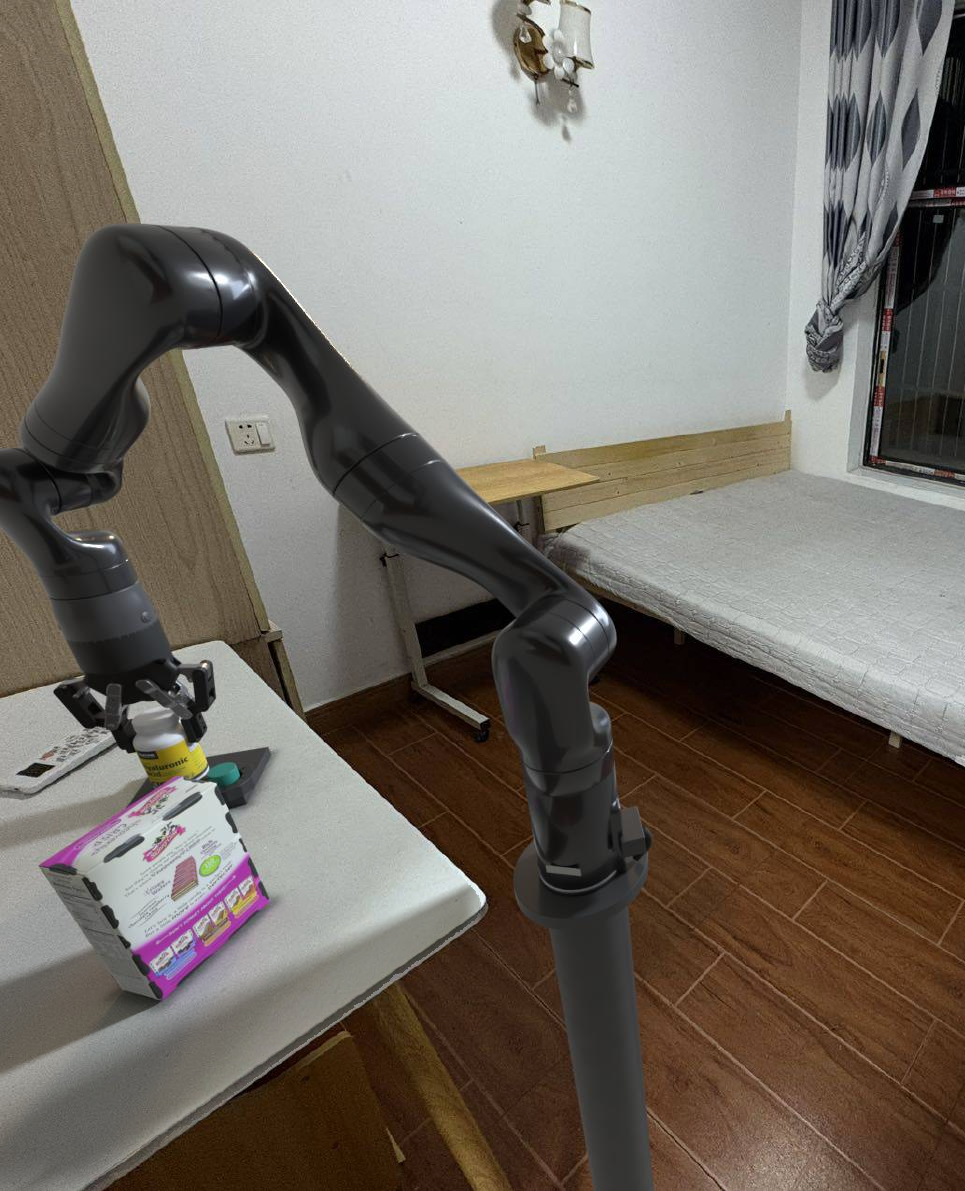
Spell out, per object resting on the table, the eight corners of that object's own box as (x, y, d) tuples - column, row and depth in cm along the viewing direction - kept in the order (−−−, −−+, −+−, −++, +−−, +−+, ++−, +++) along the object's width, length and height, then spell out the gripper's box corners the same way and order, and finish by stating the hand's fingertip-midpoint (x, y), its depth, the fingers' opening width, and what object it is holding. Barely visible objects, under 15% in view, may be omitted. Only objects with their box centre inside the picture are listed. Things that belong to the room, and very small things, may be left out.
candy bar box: (232, 892, 69) (176, 772, 62) (273, 901, 68) (221, 780, 61) (115, 993, 59) (32, 863, 52) (161, 1004, 58) (83, 874, 51)
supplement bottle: (145, 797, 79) (112, 732, 74) (165, 769, 83) (135, 706, 79) (201, 787, 80) (172, 723, 76) (217, 760, 85) (190, 698, 81)
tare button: (243, 771, 82) (239, 760, 81) (235, 785, 79) (231, 774, 79) (216, 775, 81) (211, 764, 80) (207, 790, 78) (202, 779, 78)
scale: (279, 753, 89) (272, 735, 88) (253, 807, 80) (245, 788, 79) (160, 773, 84) (151, 755, 83) (118, 832, 75) (108, 813, 74)
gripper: (204, 601, 78) (248, 716, 85) (46, 617, 73) (107, 737, 80) (178, 629, 72) (228, 750, 79) (2, 648, 67) (73, 776, 74)
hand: (167, 743), depth 79 cm, fingers closed on supplement bottle, 5 cm apart
